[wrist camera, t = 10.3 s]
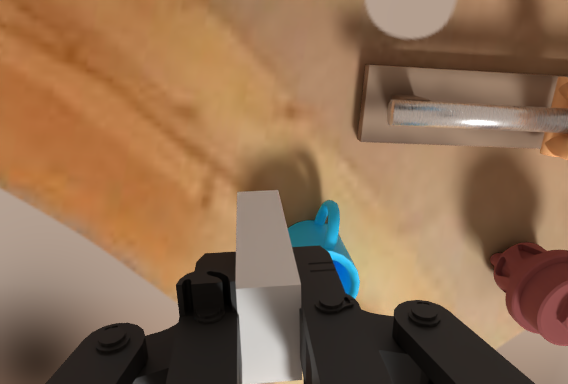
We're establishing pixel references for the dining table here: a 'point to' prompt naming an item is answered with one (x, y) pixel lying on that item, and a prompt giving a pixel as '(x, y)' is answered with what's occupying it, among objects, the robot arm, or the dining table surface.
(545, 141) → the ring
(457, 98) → the stand
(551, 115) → the rod
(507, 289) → the mechanical component
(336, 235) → the mug
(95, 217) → the dining table surface
